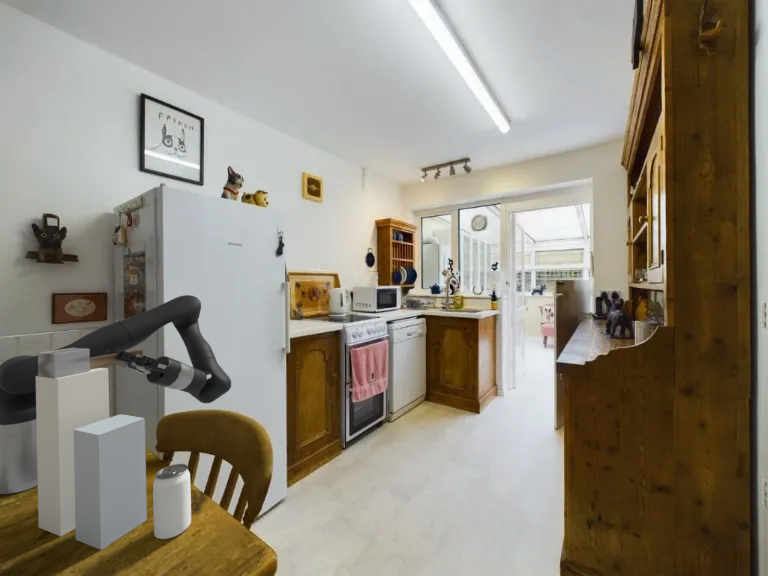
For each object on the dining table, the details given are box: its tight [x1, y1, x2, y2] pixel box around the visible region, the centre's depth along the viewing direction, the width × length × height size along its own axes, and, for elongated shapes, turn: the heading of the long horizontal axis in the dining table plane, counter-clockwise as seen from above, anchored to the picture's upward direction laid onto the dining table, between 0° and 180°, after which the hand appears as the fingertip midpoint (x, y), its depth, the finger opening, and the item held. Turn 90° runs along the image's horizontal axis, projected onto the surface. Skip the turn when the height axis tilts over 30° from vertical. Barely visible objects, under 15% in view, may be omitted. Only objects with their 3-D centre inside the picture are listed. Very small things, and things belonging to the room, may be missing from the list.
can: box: [152, 463, 192, 540], centre depth 68 cm, size 6×6×12 cm
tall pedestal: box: [36, 367, 110, 537], centre depth 72 cm, size 8×9×32 cm
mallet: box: [37, 348, 144, 379], centre depth 76 cm, size 6×18×5 cm, turn 160°
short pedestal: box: [74, 413, 148, 551], centre depth 68 cm, size 8×8×22 cm
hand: (112, 353), depth 79 cm, fingers open, 3 cm apart
